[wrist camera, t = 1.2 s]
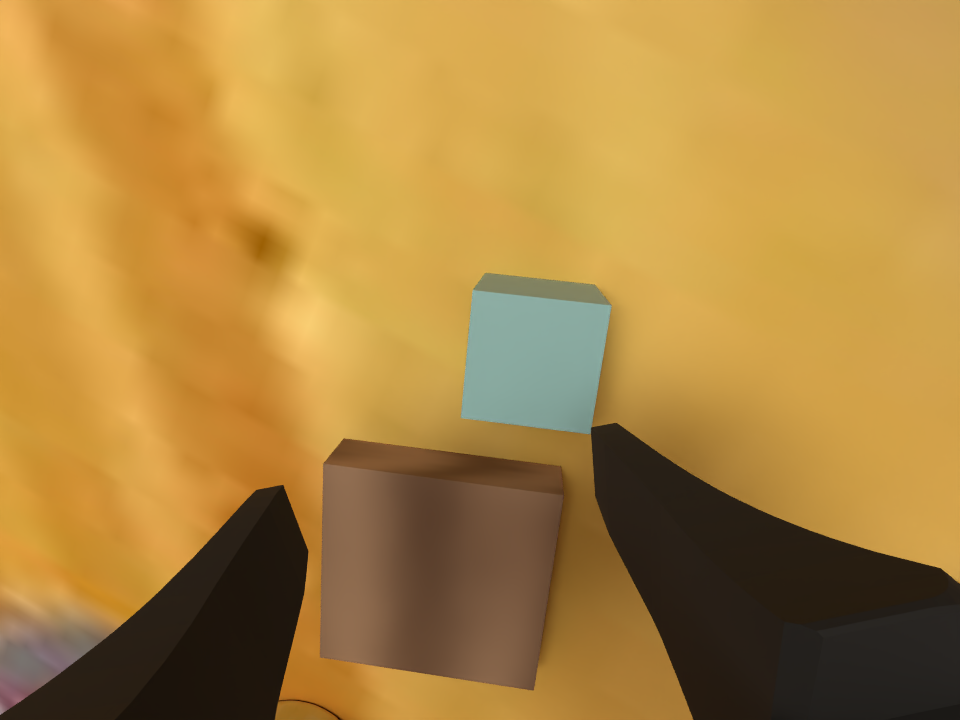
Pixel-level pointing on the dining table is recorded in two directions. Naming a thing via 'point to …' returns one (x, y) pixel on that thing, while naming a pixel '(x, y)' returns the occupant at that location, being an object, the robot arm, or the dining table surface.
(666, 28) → the dining table surface
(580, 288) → the teal block
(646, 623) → the dining table surface
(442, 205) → the dining table surface
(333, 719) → the plant pot
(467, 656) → the walnut block
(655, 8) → the dining table surface
